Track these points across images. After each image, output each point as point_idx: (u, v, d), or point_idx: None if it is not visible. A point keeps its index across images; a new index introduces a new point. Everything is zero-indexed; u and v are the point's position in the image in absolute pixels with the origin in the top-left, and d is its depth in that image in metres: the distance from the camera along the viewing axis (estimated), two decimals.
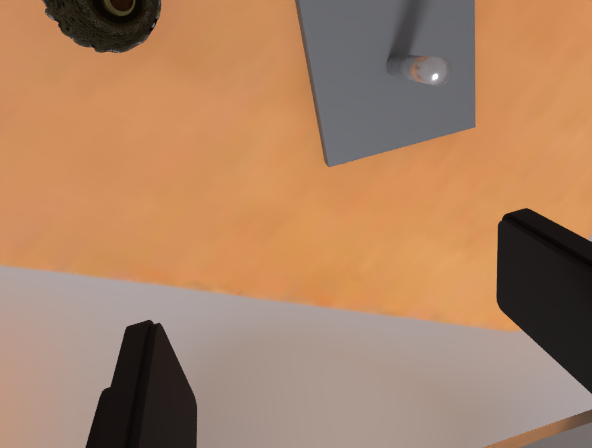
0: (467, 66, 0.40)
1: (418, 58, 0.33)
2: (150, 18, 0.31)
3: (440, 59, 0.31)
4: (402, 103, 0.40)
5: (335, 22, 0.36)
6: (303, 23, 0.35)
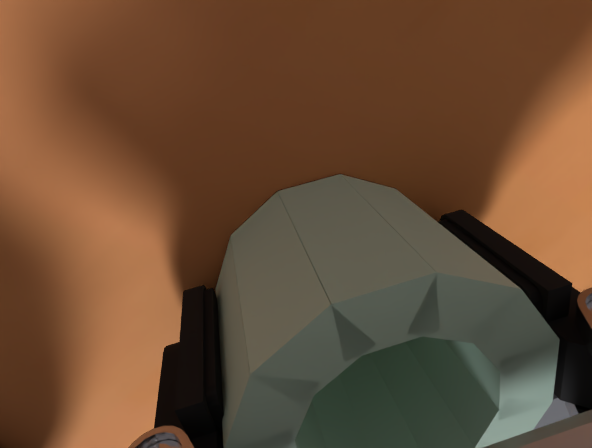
0: None
1: None
2: None
3: None
4: None
5: None
6: None
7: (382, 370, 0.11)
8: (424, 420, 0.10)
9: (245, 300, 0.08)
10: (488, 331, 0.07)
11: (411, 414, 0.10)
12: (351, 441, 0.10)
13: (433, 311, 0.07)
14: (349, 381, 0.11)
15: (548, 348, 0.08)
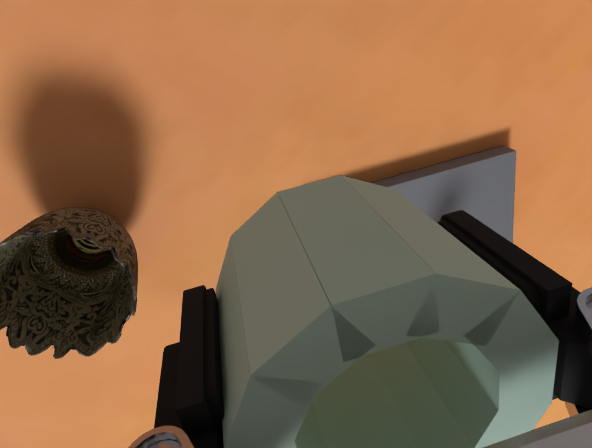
0: None
1: None
2: None
3: None
4: None
5: None
6: None
7: (382, 370, 0.11)
8: (424, 421, 0.10)
9: (246, 301, 0.08)
10: (488, 332, 0.07)
11: (411, 414, 0.10)
12: (351, 441, 0.10)
13: (433, 312, 0.07)
14: (349, 381, 0.11)
15: (547, 349, 0.08)
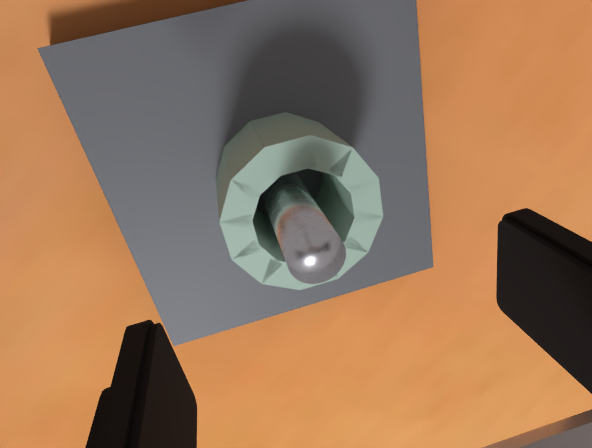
0: (413, 176, 0.22)
1: (285, 205, 0.15)
2: None
3: (312, 233, 0.13)
4: None
5: (139, 113, 0.18)
6: (70, 117, 0.18)
7: None
8: None
9: (230, 163, 0.16)
10: (340, 169, 0.16)
11: None
12: None
13: (311, 155, 0.15)
14: None
15: (373, 182, 0.16)
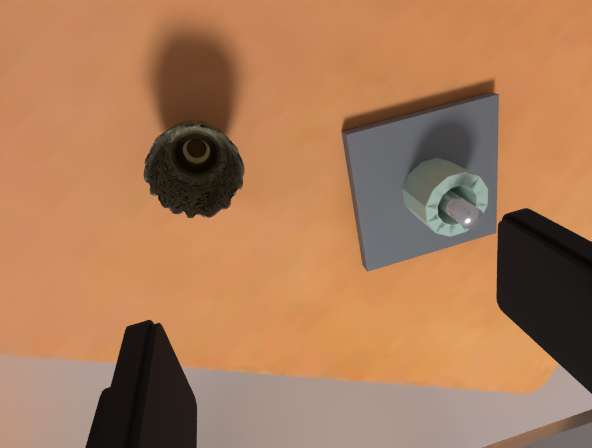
0: (490, 186, 0.45)
1: (452, 199, 0.38)
2: (224, 171, 0.37)
3: (473, 209, 0.36)
4: None
5: (378, 159, 0.41)
6: (350, 161, 0.41)
7: None
8: None
9: (424, 182, 0.39)
10: (474, 185, 0.39)
11: None
12: (442, 219, 0.41)
13: (464, 179, 0.38)
14: (438, 212, 0.43)
15: (485, 190, 0.39)
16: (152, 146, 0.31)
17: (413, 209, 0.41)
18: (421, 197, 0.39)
